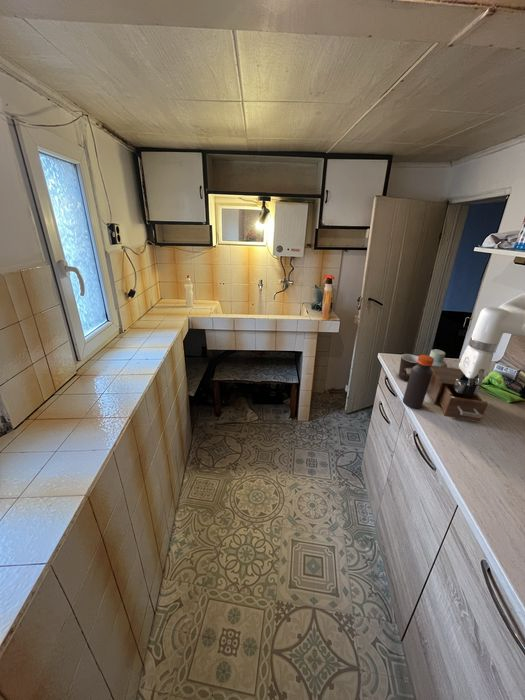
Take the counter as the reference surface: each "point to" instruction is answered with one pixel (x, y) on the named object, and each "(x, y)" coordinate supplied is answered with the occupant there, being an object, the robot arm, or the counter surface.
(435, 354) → the air freshener
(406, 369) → the coffee mug
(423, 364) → the bottle
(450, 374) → the cabinet
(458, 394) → the drawer
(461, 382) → the striped block
